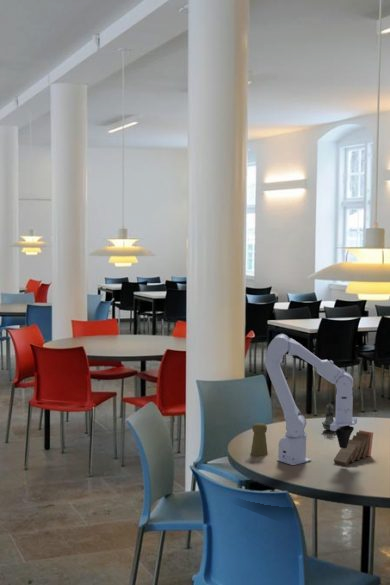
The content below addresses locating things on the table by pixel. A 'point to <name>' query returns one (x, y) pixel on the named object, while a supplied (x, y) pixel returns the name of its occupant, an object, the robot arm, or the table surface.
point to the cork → (259, 440)
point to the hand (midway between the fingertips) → (343, 447)
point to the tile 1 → (345, 455)
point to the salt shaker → (328, 419)
